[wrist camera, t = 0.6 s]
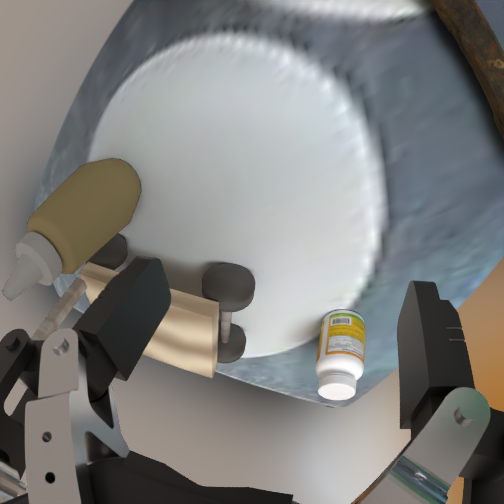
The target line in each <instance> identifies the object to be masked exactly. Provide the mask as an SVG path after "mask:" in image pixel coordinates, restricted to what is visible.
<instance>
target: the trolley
mask: <svg viewBox="0 0 504 504" xmlns="http://www.w3.org/2000/svg"><path fill="white" fill-rule="evenodd" d="M126 258H127V249H126V243H125V240H124V238H123V237H122V236H121V235H120V234H116V235H115V236H114V237H113V238H112V239H110V240H109V241H108V242H107V243H106V244H105V245H104V246H103V247H101V248H100V249H99V250H98V251H97V252H96V253H95V254H94V255H93V256H92V257H90V258H89V259H88V260H87V261H86V262H85V263H86V266H85V267H84V268H83V269H82V270H81V271H80V273H79V275H80V278H81V279H79V278H76V280H75V281H74V282H73V283H72V285H71V286H70V287H69V288H68V290H67V291H66V292H65V293H64V295H63V296H62V297H61V298H60V300H59V301H58V302H57V304H56V305H55V306H54V308H53V309H52V310H51V312H50V313H49V314H48V316H47V317H46V318H45V320H44V321H43V322H42V324H41V325H40V326H39V328H38V329H37V331H36V332H35V333H34V335H33V336H32V338H31V340H46V338H47V337H48V336H49V335H50V334H52V333H53V332H55V331H56V330H57V328H58V327H59V326H60V324H61V323H62V321H63V320H64V319H65V317H66V316H67V314H68V313H69V312H70V310H71V309H72V308H73V306H74V305H75V304H76V302H77V301H78V300H79V298H80V297H81V296H82V294H83V293H84V292H85V291H86V294H87V297H88V299H89V302H90V304H92V302H93V301H94V300H95V299H96V298H98V295H99V294H100V293H101V291H102V290H104V288H105V286H106V285H107V284H108V283H109V282H110V280H111V279H112V278H113V277H114V276H116V275H117V274H119V273H120V272H117V271H114V269H116V268H118V267H119V266H121V265H122V264H123V263H124V261H125V260H126ZM254 290H255V279H254V277H253V275H252V274H251V273H250V272H249V271H248V270H247V269H245V268H244V267H242V266H239V265H236V264H228V263H226V264H219V265H216V266H213V267H211V268H210V269H208V270H207V271H206V272H205V274H204V276H203V278H202V295H203V298H201V297H198V296H194V295H191V294H187V293H184V292H181V291H177V290H174V289H171V288H170V292H171V304H170V307H169V309H168V311H167V313H166V315H165V316H164V318H163V320H162V321H161V323H160V325H159V326H158V328H157V330H156V331H155V333H154V335H153V336H152V338H151V340H150V342H149V343H148V345H147V347H146V348H145V350H144V352H143V354H144V355H146V356H149V357H151V358H154V359H157V360H160V361H163V362H165V363H168V364H171V365H174V366H176V367H179V368H182V369H185V370H188V371H192V372H194V373H198V374H201V375H204V376H207V377H210V378H212V377H213V375H214V372H215V369H216V367H217V362H219V363H231V362H234V361H236V360H238V359H239V358H240V357H241V356H242V355H243V353H244V350H245V345H246V337H245V334H244V332H243V331H242V329H241V328H239V327H238V326H236V325H235V324H232V323H231V314H232V312H236V311H239V310H242V309H244V308H246V307H247V306H248V305H249V304H250V303H251V301H252V299H253V296H254ZM219 311H221V322H220V323H218V319H219ZM18 381H19V382H20V383H21V384H22V385H23V386H24V387H25V388H26V389H27V388H28V387H27V386H26V385H25V384H24V383H23V382H22V381H21V380H20V379H19V378H18Z"/></svg>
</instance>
